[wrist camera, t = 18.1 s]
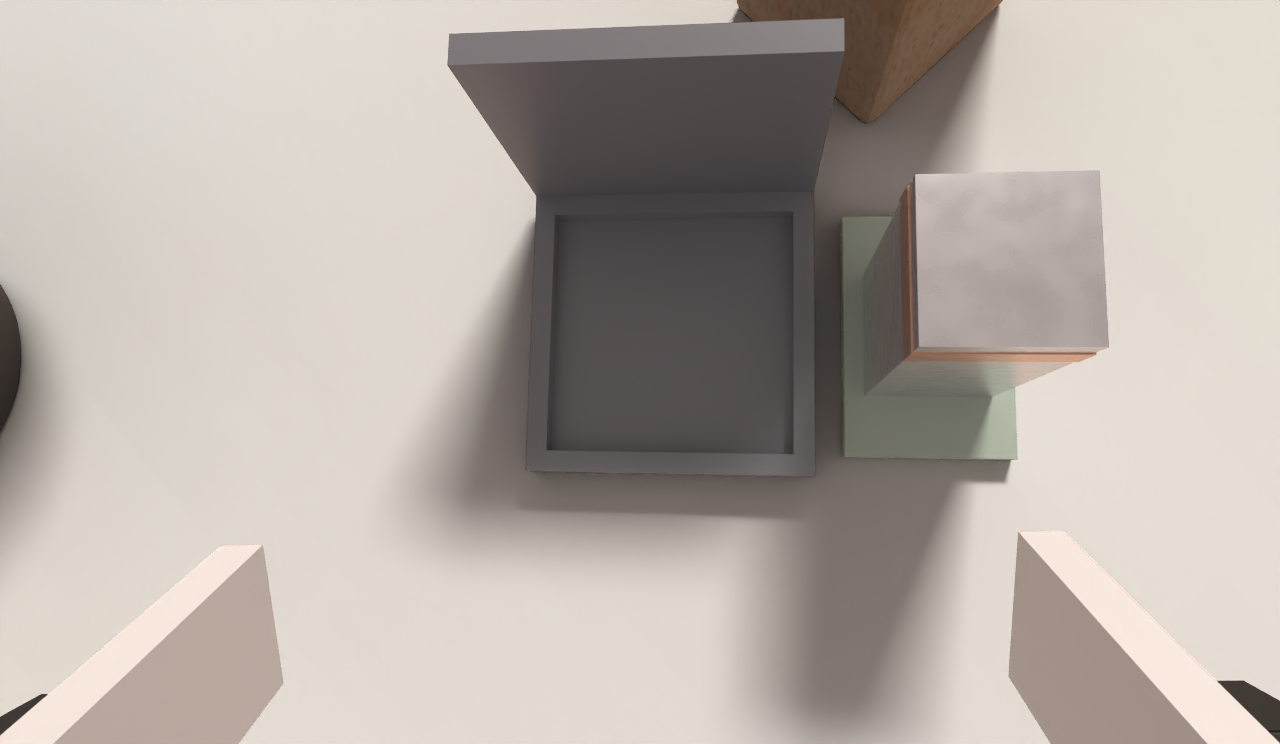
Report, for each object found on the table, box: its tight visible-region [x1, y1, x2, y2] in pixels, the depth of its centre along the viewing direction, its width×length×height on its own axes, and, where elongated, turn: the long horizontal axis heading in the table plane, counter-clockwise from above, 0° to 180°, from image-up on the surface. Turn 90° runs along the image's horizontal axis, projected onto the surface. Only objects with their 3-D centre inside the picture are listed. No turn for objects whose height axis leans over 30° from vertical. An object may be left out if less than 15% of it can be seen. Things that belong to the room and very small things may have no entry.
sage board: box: [841, 216, 1017, 460], centre depth 44 cm, size 8×12×1 cm, turn 179°
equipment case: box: [448, 18, 845, 477], centre depth 38 cm, size 14×15×16 cm
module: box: [863, 171, 1109, 397], centre depth 37 cm, size 6×6×14 cm
